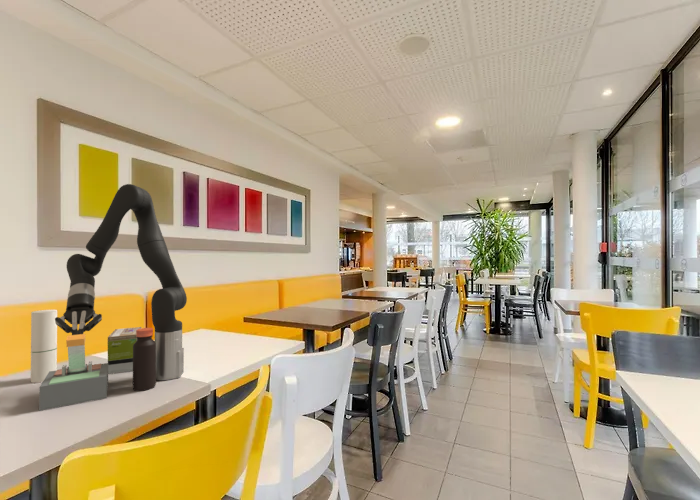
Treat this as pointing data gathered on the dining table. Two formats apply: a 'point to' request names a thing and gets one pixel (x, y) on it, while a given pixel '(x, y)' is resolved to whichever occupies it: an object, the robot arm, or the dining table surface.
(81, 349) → the lever
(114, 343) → the tea box
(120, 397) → the dining table surface
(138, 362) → the bottle
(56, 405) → the switch box
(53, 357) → the cylindrical container
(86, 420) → the dining table surface
